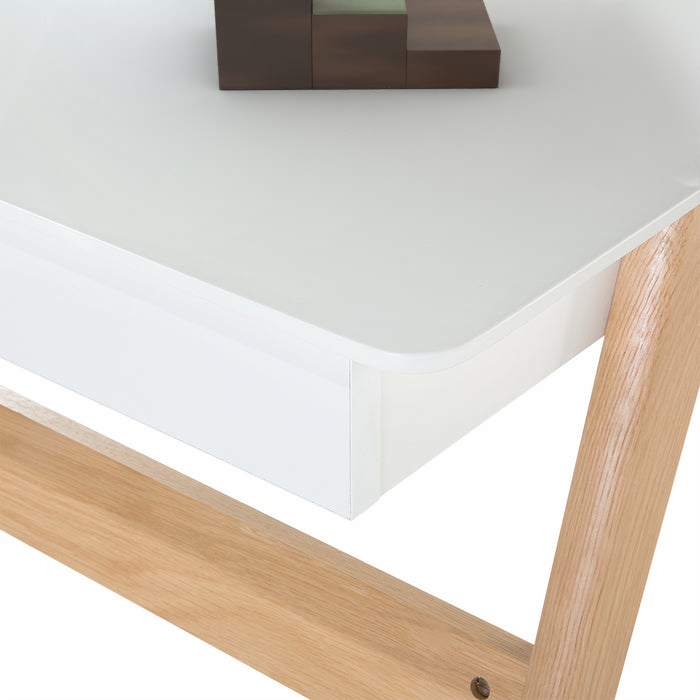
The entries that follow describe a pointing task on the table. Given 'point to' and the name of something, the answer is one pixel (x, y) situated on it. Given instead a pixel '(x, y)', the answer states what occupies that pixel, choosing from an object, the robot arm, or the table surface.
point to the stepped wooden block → (355, 44)
